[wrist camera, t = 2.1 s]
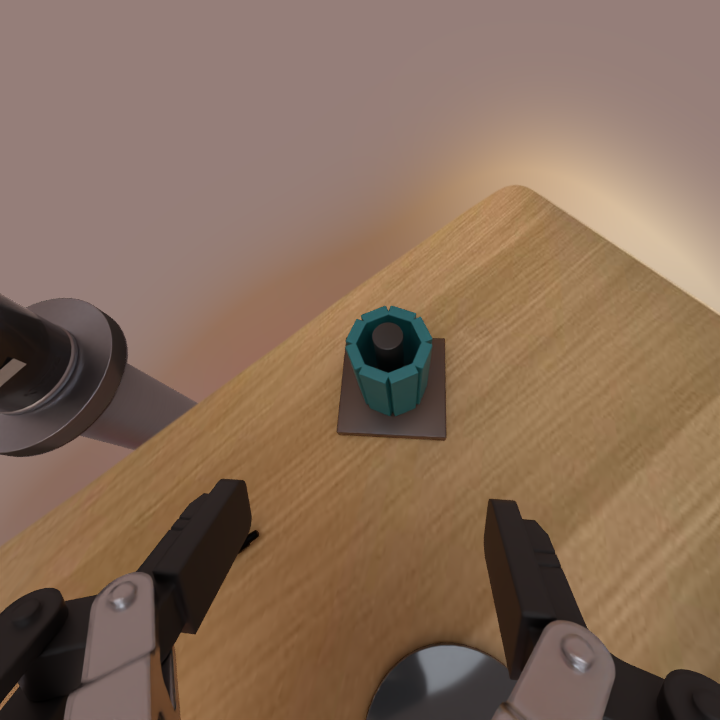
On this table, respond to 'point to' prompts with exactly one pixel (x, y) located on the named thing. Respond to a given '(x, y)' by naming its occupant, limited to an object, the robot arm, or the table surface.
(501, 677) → the slate coaster
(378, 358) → the holder
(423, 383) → the teal octagonal tube
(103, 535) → the table surface
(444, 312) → the table surface
